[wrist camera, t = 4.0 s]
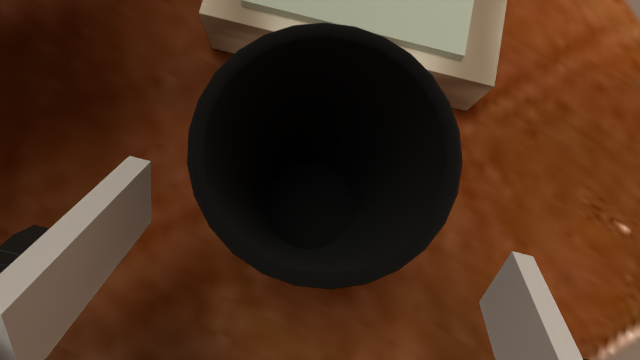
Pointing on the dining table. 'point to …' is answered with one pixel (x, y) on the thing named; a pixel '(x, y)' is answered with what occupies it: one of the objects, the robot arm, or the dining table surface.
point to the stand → (384, 32)
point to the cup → (324, 155)
